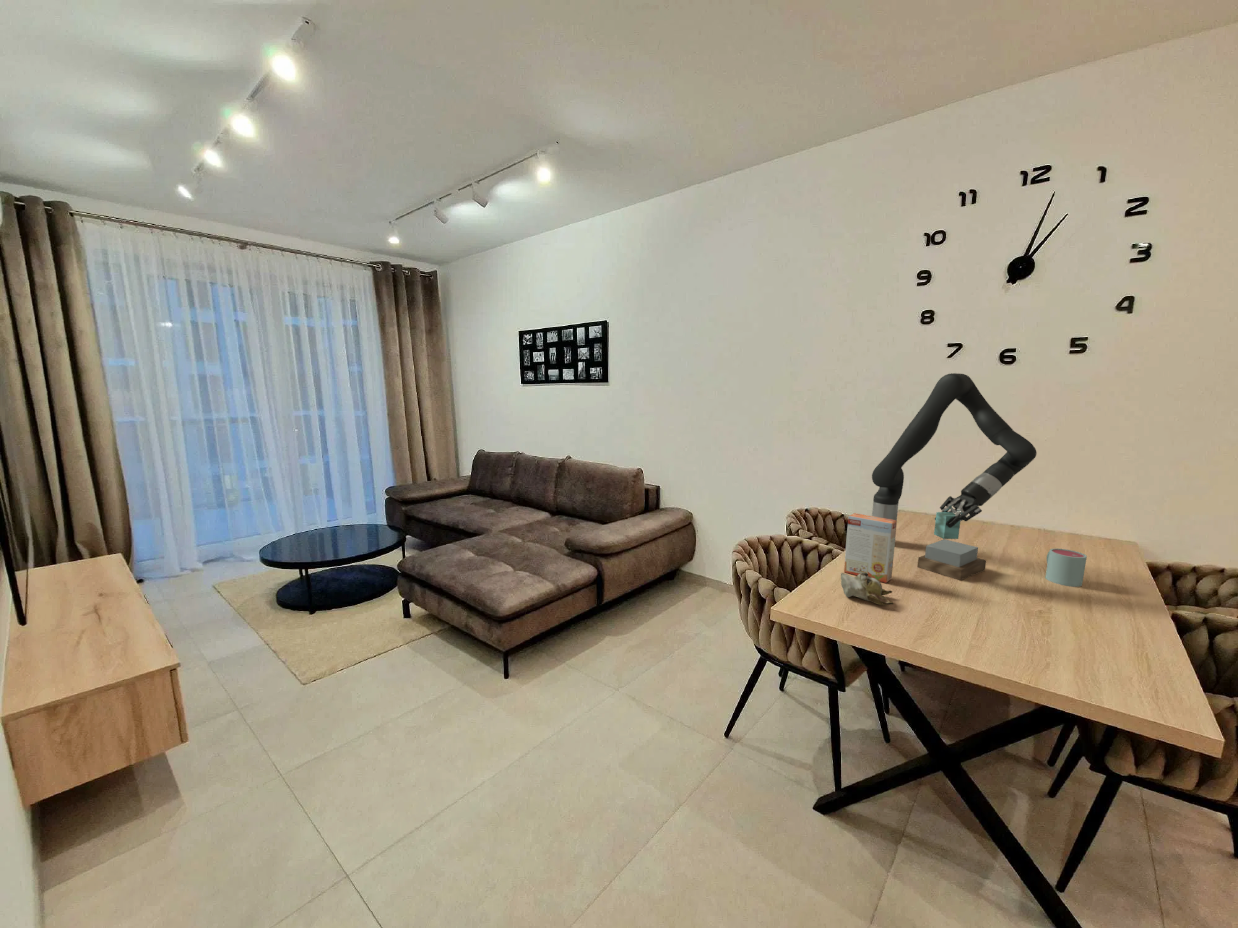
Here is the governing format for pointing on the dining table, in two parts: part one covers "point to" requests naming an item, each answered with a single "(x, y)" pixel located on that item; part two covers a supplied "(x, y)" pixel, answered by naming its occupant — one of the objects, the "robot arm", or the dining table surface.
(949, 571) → the tower base slab
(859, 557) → the cracker box
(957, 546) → the tower top slab
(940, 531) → the teal pillar
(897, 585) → the dining table surface
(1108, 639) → the dining table surface
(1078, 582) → the mug
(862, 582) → the ceramic sculpture
